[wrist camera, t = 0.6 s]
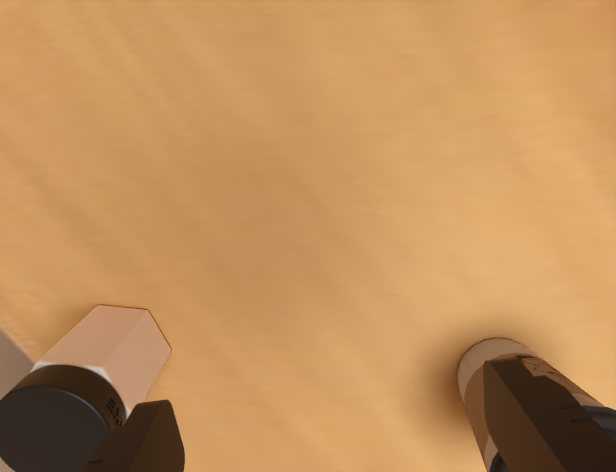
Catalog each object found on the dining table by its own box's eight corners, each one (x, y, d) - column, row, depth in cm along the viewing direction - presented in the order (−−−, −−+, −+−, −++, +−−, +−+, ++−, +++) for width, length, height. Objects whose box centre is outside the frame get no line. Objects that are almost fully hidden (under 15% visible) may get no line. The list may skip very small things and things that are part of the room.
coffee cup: (573, 332, 40) (725, 456, 26) (525, 431, 43) (636, 592, 29) (458, 303, 39) (548, 415, 25) (418, 406, 42) (476, 560, 28)
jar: (137, 400, 42) (73, 510, 30) (62, 355, 40) (-36, 453, 29) (187, 333, 40) (138, 423, 28) (109, 284, 38) (24, 359, 27)
